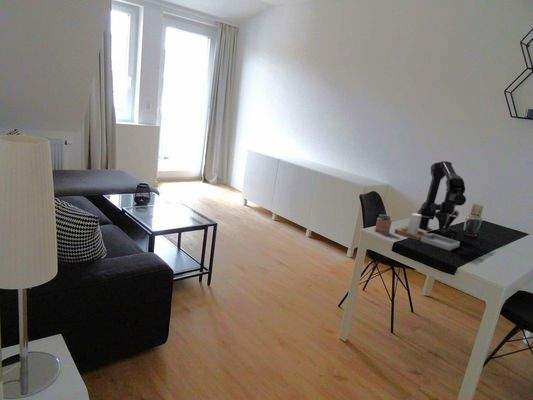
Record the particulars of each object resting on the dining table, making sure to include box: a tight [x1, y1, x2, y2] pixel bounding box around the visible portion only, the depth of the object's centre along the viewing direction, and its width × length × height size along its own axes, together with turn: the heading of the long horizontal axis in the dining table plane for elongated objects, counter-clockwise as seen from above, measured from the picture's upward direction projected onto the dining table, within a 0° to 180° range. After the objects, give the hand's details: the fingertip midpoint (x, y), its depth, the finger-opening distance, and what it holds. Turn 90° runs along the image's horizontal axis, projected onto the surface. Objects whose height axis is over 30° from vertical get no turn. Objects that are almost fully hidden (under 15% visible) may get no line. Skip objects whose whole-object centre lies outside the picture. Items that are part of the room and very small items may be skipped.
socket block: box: [394, 226, 430, 241], centre depth 208 cm, size 14×14×2 cm
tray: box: [420, 232, 461, 252], centre depth 198 cm, size 15×15×3 cm
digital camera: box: [446, 227, 466, 243], centre depth 208 cm, size 10×5×7 cm, turn 130°
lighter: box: [374, 213, 393, 235], centre depth 205 cm, size 8×3×10 cm, turn 84°
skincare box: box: [406, 212, 422, 236], centre depth 207 cm, size 6×4×12 cm
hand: (443, 229), depth 196 cm, fingers open, 8 cm apart
